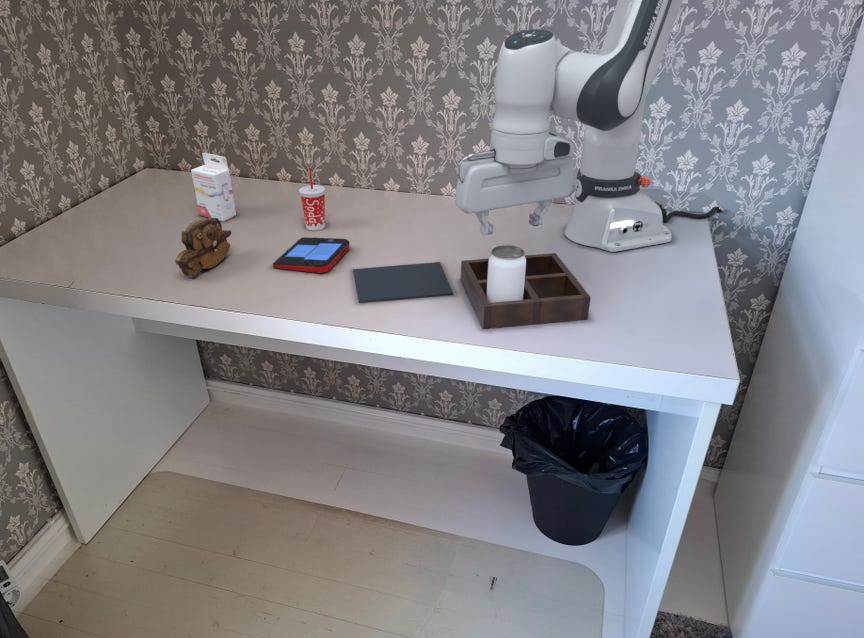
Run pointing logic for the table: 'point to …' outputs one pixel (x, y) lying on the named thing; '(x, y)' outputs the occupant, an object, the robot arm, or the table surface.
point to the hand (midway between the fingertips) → (511, 229)
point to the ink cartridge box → (214, 188)
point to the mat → (401, 282)
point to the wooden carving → (203, 245)
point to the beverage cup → (313, 205)
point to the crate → (528, 294)
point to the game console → (313, 255)
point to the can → (506, 274)
